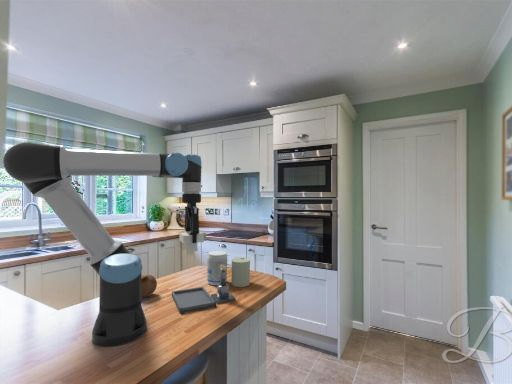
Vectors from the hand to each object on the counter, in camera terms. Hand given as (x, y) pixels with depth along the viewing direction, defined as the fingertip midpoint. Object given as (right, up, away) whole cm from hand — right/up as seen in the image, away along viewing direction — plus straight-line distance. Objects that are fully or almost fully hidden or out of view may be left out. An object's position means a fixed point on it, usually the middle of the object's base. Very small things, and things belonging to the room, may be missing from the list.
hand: (191, 248), depth 107 cm
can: (+19, -22, +22) cm, 36 cm away
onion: (-21, -21, +5) cm, 30 cm away
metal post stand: (+13, -21, +3) cm, 25 cm away
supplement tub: (+7, -22, +23) cm, 32 cm away
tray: (+1, -21, 0) cm, 21 cm away
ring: (0, +3, 0) cm, 3 cm away
